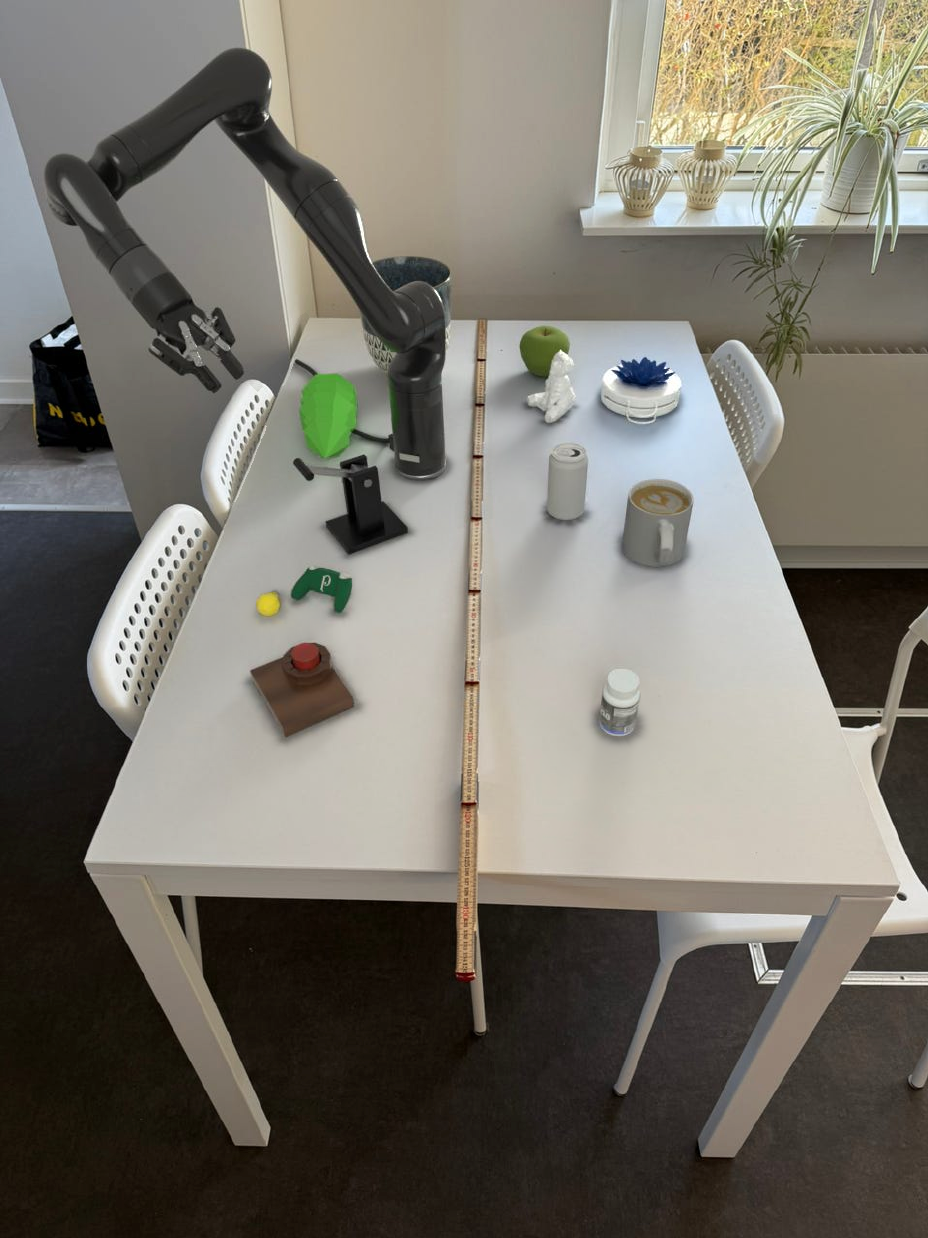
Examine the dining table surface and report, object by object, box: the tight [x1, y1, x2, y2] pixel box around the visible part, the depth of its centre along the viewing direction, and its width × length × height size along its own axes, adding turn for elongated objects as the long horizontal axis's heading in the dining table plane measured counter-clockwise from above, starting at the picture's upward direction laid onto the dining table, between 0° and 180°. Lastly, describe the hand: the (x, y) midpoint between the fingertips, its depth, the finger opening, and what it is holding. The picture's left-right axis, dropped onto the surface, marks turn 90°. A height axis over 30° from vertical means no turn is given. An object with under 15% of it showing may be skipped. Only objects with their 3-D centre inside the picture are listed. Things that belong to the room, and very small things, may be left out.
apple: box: [519, 325, 571, 378], centre depth 182 cm, size 11×10×10 cm
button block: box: [249, 642, 355, 738], centre depth 117 cm, size 12×10×4 cm
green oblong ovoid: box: [298, 372, 358, 460], centre depth 162 cm, size 11×12×30 cm
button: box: [291, 642, 320, 670], centre depth 117 cm, size 4×4×2 cm
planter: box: [358, 255, 453, 374], centre depth 179 cm, size 20×20×21 cm
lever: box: [292, 457, 369, 482], centre depth 135 cm, size 12×5×2 cm, turn 121°
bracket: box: [325, 454, 409, 555], centre depth 141 cm, size 11×9×13 cm
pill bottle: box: [598, 668, 641, 737], centre depth 110 cm, size 5×5×8 cm
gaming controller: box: [290, 563, 353, 614], centre depth 132 cm, size 9×4×6 cm
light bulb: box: [255, 589, 281, 617], centre depth 130 cm, size 3×6×4 cm, turn 175°
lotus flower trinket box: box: [600, 356, 682, 425], centre depth 172 cm, size 7×16×20 cm
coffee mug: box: [621, 478, 694, 568], centre depth 135 cm, size 13×10×10 cm
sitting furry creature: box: [526, 350, 577, 424], centre depth 169 cm, size 10×9×12 cm
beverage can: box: [546, 442, 589, 521], centre depth 143 cm, size 6×6×12 cm
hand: (229, 382), depth 129 cm, fingers open, 4 cm apart
